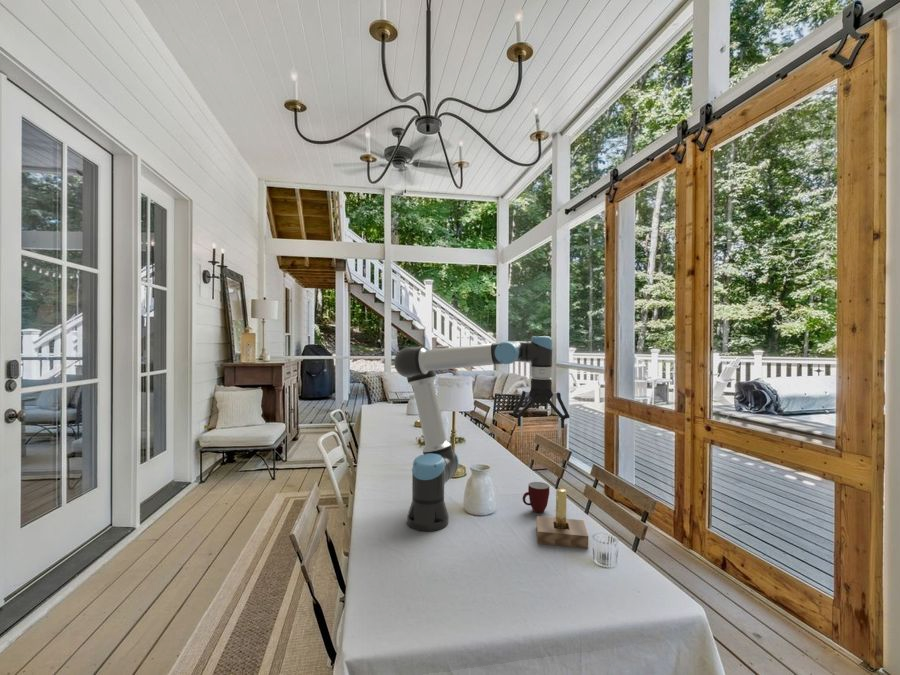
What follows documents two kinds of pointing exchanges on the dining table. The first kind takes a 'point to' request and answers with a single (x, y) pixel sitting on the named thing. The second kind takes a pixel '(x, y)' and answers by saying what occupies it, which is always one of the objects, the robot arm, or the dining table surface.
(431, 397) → the robot arm
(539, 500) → the mug
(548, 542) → the socket block
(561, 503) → the brass peg
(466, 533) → the dining table surface
